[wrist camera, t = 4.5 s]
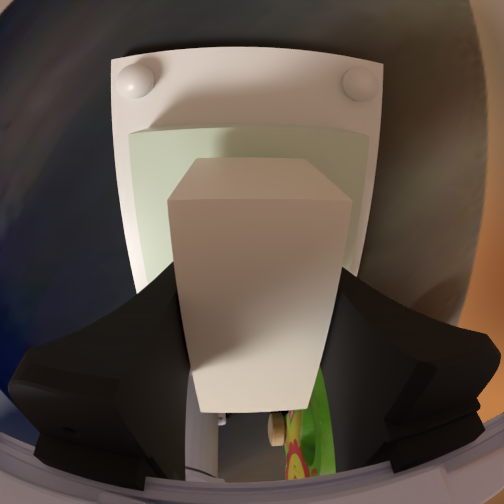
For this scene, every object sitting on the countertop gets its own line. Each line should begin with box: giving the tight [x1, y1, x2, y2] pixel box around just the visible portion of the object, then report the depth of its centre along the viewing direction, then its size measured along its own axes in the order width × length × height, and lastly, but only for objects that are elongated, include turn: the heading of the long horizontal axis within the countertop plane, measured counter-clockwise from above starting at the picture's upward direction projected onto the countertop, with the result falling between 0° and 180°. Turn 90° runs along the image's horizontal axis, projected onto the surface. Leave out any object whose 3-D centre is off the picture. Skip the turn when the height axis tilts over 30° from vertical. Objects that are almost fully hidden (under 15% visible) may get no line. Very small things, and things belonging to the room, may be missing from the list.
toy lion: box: [268, 366, 336, 480], centre depth 19 cm, size 16×6×15 cm, turn 178°
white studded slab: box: [111, 47, 383, 294], centre depth 15 cm, size 18×14×4 cm
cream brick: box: [167, 157, 353, 413], centre depth 10 cm, size 8×4×5 cm, turn 179°
